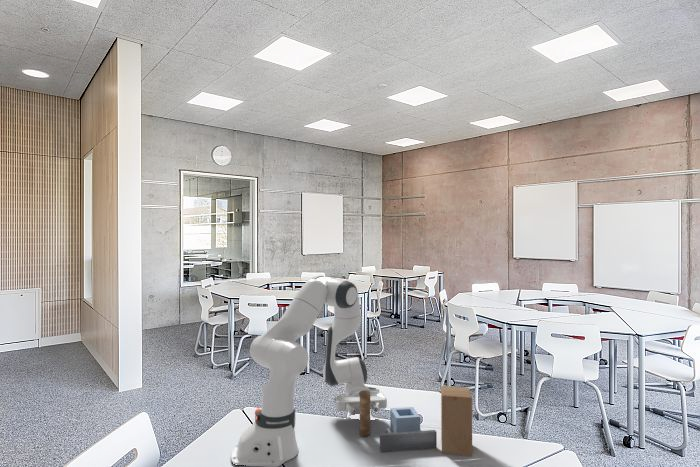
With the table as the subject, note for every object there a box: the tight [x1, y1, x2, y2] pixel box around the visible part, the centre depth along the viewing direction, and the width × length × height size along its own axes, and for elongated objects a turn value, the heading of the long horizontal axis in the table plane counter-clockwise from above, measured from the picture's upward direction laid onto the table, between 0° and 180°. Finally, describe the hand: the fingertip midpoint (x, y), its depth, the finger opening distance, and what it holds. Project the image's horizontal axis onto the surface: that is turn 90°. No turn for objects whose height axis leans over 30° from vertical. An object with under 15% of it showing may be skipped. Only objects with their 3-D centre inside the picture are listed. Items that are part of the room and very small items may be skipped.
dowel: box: [359, 390, 371, 438], centre depth 152 cm, size 4×4×16 cm
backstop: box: [379, 427, 438, 454], centre depth 148 cm, size 20×16×6 cm
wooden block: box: [440, 385, 473, 457], centre depth 142 cm, size 10×10×20 cm
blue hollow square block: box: [389, 406, 421, 433], centre depth 153 cm, size 9×9×8 cm
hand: (364, 410), depth 153 cm, fingers open, 8 cm apart
